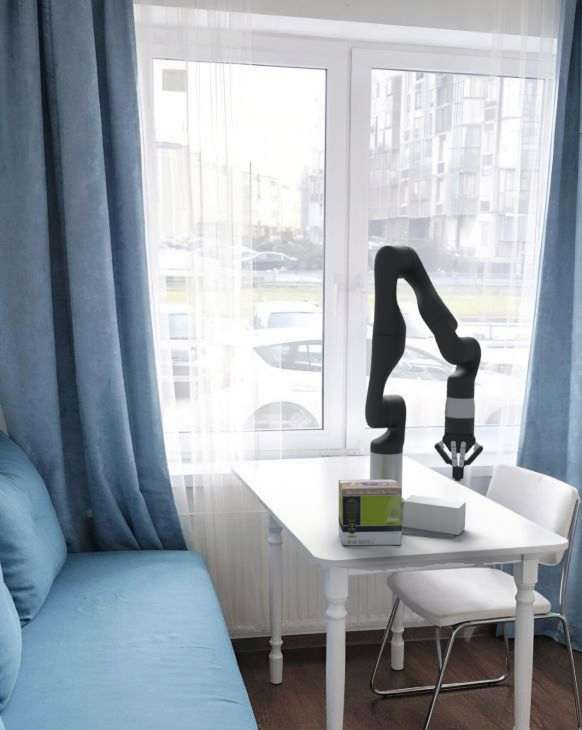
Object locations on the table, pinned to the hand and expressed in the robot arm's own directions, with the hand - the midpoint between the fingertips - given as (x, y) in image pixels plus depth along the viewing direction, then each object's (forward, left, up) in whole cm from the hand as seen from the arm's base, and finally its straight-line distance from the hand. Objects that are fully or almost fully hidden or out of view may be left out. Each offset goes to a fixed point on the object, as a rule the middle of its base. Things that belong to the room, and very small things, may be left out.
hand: (457, 480), depth 215 cm
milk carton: (0, +2, -10) cm, 10 cm away
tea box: (+12, -21, -14) cm, 28 cm away
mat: (0, -10, -14) cm, 17 cm away
